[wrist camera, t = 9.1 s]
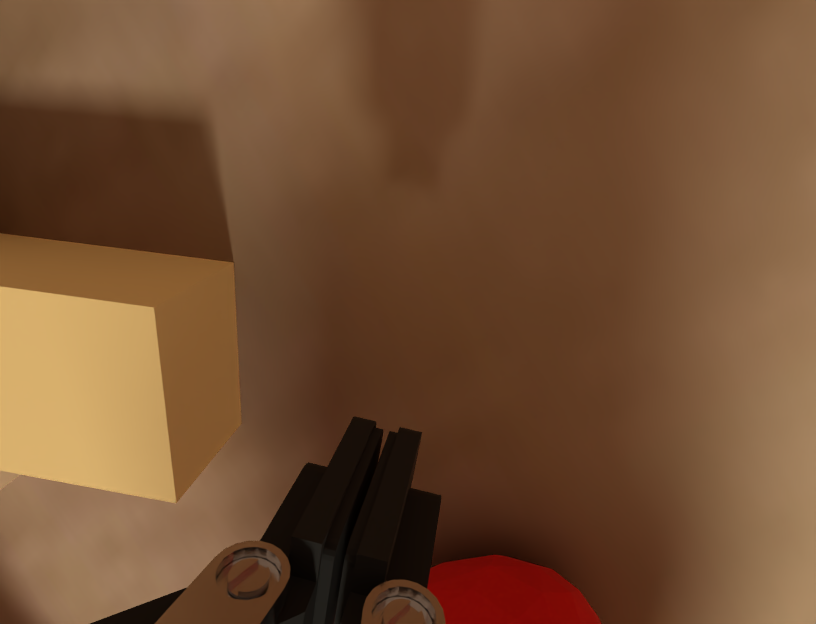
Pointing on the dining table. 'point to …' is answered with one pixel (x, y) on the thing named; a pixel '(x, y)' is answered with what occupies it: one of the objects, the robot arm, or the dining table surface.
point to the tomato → (506, 593)
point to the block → (115, 365)
